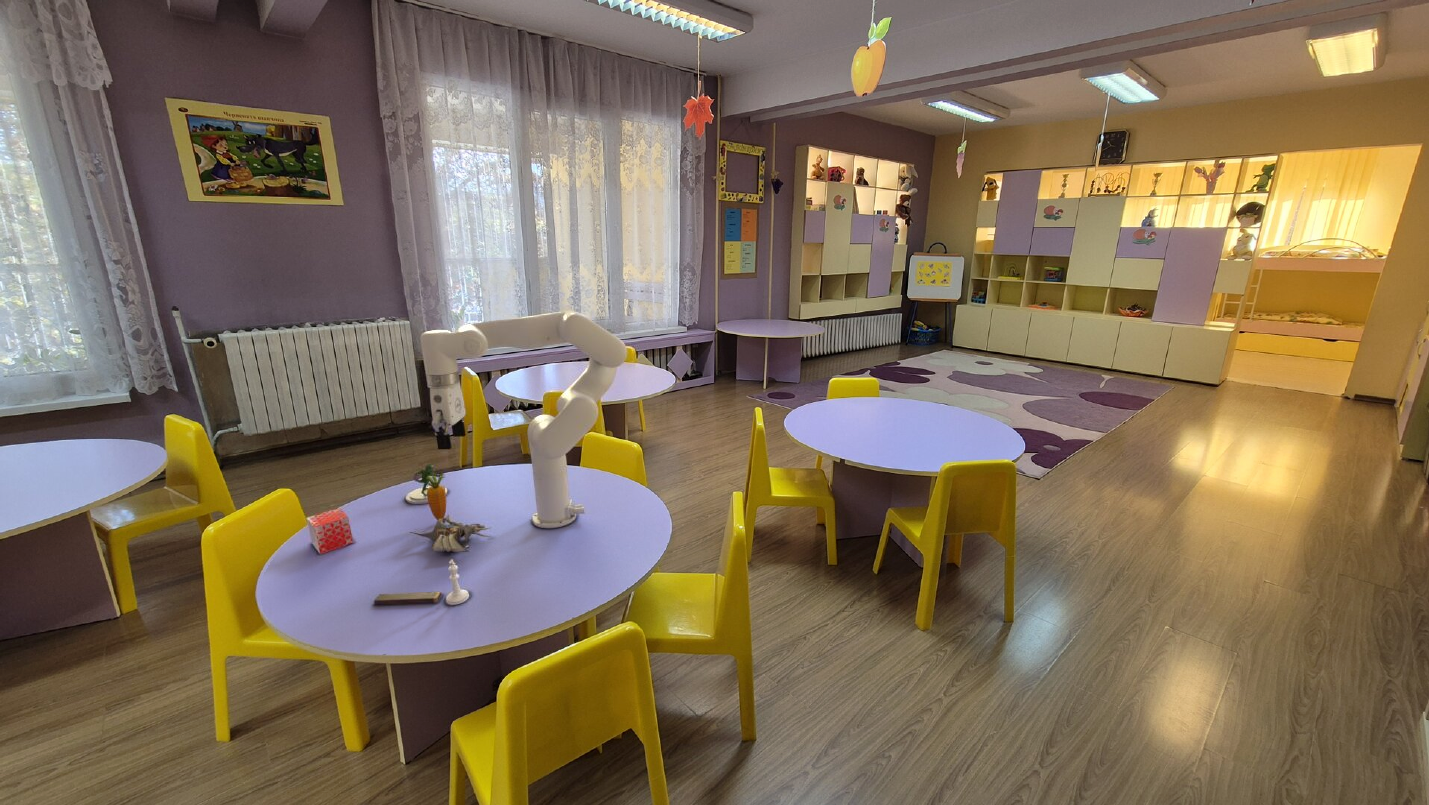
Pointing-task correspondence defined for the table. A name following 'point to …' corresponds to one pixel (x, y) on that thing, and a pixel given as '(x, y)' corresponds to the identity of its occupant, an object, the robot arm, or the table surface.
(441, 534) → the figurine
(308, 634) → the table surface
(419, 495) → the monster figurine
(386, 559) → the table surface
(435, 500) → the carrot
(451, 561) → the chess piece
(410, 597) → the walnut stick
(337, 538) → the red patterned box
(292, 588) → the table surface
